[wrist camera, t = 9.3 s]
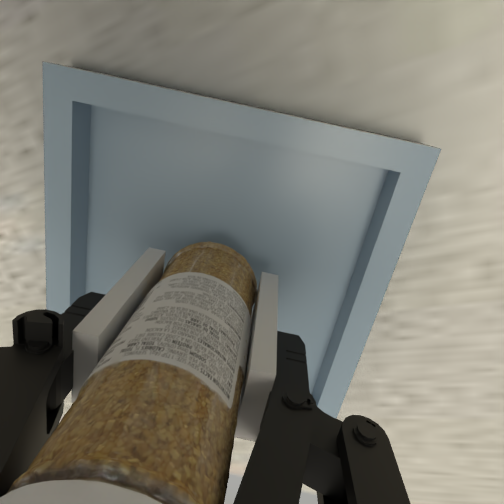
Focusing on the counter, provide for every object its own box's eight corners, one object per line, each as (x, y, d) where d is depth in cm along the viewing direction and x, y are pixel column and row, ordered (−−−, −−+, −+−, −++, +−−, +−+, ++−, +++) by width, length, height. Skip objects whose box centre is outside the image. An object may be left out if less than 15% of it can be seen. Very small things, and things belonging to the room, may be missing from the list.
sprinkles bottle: (220, 338, 19) (99, 806, 6) (146, 286, 18) (-164, 704, 5) (279, 278, 17) (272, 736, 5) (201, 217, 16) (-55, 579, 4)
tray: (72, 66, 16) (42, 61, 14) (421, 143, 17) (441, 149, 15) (68, 353, 23) (47, 378, 20) (324, 408, 23) (328, 438, 21)
